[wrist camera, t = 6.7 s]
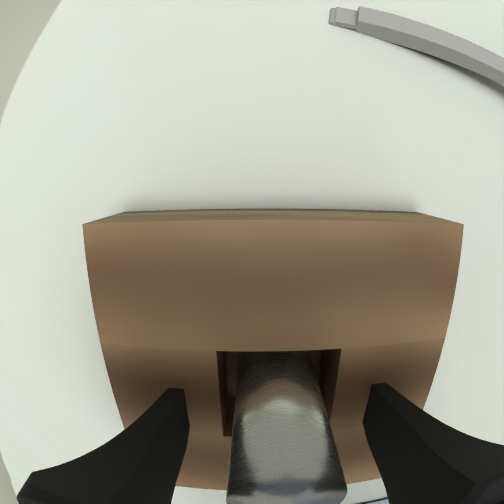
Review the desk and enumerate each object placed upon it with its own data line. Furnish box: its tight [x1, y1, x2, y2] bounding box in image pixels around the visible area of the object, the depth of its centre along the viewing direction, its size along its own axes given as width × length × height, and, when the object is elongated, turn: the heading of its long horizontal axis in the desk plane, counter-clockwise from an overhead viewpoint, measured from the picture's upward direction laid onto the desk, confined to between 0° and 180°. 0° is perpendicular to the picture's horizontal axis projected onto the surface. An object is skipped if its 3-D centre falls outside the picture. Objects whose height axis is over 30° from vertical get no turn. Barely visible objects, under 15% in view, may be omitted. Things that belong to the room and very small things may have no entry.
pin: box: [226, 350, 347, 504], centre depth 11 cm, size 3×3×8 cm
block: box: [83, 209, 464, 490], centre depth 13 cm, size 14×14×4 cm
